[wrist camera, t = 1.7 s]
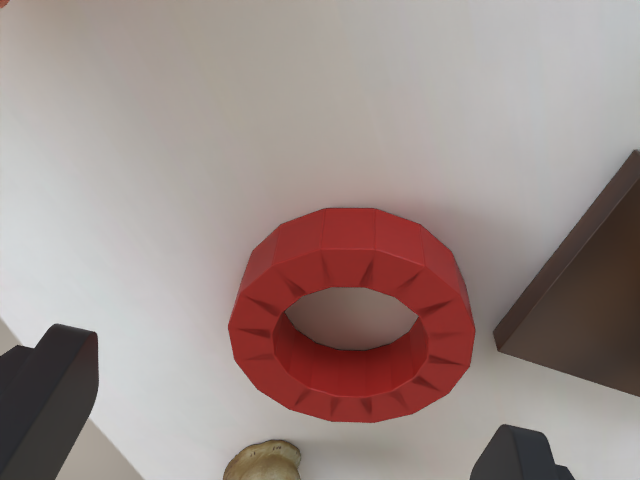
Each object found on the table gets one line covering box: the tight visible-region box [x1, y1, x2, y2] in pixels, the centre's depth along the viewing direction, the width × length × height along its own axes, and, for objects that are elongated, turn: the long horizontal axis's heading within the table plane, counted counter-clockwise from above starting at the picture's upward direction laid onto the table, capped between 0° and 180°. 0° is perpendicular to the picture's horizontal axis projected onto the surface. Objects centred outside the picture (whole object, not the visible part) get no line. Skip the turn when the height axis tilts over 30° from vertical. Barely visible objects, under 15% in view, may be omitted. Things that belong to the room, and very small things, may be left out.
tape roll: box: [228, 208, 476, 423], centre depth 29 cm, size 12×12×3 cm
